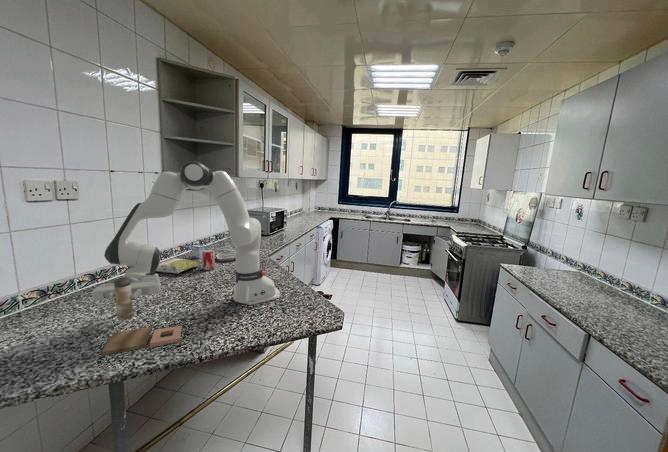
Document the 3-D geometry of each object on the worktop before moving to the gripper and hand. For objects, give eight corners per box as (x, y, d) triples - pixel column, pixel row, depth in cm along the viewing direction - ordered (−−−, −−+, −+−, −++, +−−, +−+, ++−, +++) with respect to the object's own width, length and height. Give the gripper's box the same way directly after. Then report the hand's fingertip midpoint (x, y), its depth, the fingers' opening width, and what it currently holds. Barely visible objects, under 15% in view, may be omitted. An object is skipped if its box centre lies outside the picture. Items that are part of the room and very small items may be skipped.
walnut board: (152, 329, 107) (151, 326, 106) (145, 347, 96) (145, 344, 96) (113, 335, 102) (113, 332, 102) (102, 355, 91) (101, 352, 91)
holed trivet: (182, 328, 108) (181, 325, 108) (179, 341, 100) (179, 337, 99) (154, 333, 104) (154, 329, 104) (150, 347, 96) (149, 343, 96)
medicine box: (191, 257, 197) (190, 245, 195) (196, 256, 201) (196, 244, 199) (199, 259, 194) (199, 247, 192) (205, 257, 198) (204, 245, 196)
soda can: (210, 271, 171) (209, 252, 169) (200, 270, 172) (199, 251, 170) (217, 267, 178) (216, 249, 175) (207, 266, 179) (206, 248, 177)
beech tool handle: (134, 313, 100) (131, 276, 98) (131, 319, 96) (127, 281, 94) (119, 315, 98) (115, 278, 96) (116, 321, 94) (111, 282, 92)
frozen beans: (178, 267, 158) (142, 263, 163) (179, 277, 159) (142, 272, 164) (202, 258, 178) (169, 255, 183) (203, 267, 179) (170, 263, 184)
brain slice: (240, 262, 191) (240, 257, 191) (214, 263, 186) (214, 259, 186) (241, 254, 210) (241, 250, 209) (217, 255, 205) (217, 251, 204)
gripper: (98, 278, 103) (83, 293, 90) (162, 273, 111) (156, 286, 99) (100, 294, 104) (85, 311, 91) (163, 287, 112) (157, 302, 100)
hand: (122, 298), depth 95 cm, fingers closed on beech tool handle, 4 cm apart
